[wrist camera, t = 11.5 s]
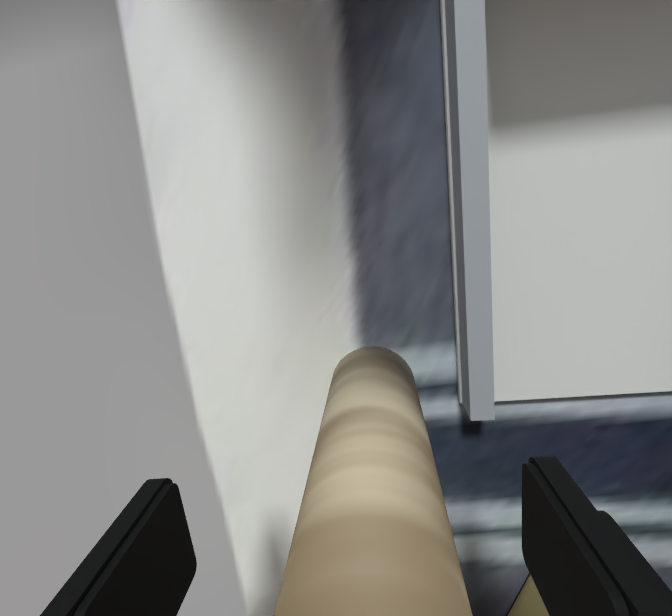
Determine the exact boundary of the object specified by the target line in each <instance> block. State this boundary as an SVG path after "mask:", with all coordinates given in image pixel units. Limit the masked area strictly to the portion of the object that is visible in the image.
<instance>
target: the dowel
mask: <svg viewBox="0 0 672 616" xmlns="http://www.w3.org/2000/svg"><path fill="white" fill-rule="evenodd" d="M274 616H472V612H471V608H470V604H469V600H468V596H467V592H466V588H465V584H464V580H463V576H462V571H461V567H460V563H459V559H458V555H457V551H456V547H455V543H454V539H453V535H452V531H451V527H450V523H449V519H448V515H447V510H446V506H445V502H444V498H443V494H442V490H441V486H440V482H439V478H438V474H437V470H436V466H435V462H434V458H433V454H432V449H431V445H430V441H429V437H428V433H427V429H426V425H425V421H424V417H423V413H422V409H421V405H420V401H419V397H418V393H417V388H416V384H415V380H414V377H413V373H412V371H411V369H410V367H409V365H408V364H407V363H406V361H405V360H404V359H403V358H402V357H401V356H399V355H398V354H396V353H395V352H393V351H391V350H388V349H386V348H381V347H363V348H360V349H357V350H354V351H352V352H350V353H349V354H347V355H346V356H345V357H344V358H343V359H342V360H341V361H340V362H339V363H338V365H337V367H336V368H335V371H334V373H333V377H332V381H331V385H330V389H329V393H328V397H327V401H326V405H325V410H324V414H323V418H322V422H321V426H320V430H319V434H318V438H317V442H316V446H315V450H314V454H313V458H312V462H311V466H310V470H309V475H308V479H307V483H306V487H305V491H304V495H303V499H302V503H301V507H300V511H299V515H298V519H297V523H296V527H295V531H294V535H293V539H292V544H291V548H290V552H289V556H288V560H287V564H286V568H285V572H284V576H283V580H282V584H281V588H280V592H279V596H278V600H277V604H276V608H275V613H274Z"/></svg>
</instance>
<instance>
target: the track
mask: <svg viewBox="0 0 672 616" xmlns="http://www.w3.org/2000/svg"><path fill="white" fill-rule="evenodd" d="M440 12H441V34H442V56H443V77H444V99H445V120H446V142H447V164H448V185H449V207H450V228H451V250H452V272H453V293H454V315H455V336H456V358H457V380H458V400H459V402H460V404H463V406H464V408H465V410H466V412H467V414H468V416H469V419H470V421H481V420H495V407H494V402H495V401H512V400H529V399H546V398H563V397H580V396H597V395H614V394H631V393H648V392H665V391H672V0H440Z"/></svg>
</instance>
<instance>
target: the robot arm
mask: <svg viewBox="0 0 672 616" xmlns="http://www.w3.org/2000/svg"><path fill="white" fill-rule="evenodd" d="M522 552H523V557H524V560H525V563H526V566H527V568H528V570H529V572H530V574H531V577H532V579H533V581H534V583H535V585H536V588H537V590H538V592H539V594H540V596H541V598H542V601H543V603H544V605H545V607H546V609H547V612H548V614H549V616H672V592H671V590H670V589H669V588H668V587H667V585H666V584H665V583H664V582H663V580H662V579H661V578H660V577H659V575H658V574H657V573H656V572H655V571H654V569H653V568H652V567H651V566H650V564H649V563H648V562H647V561H646V559H645V558H644V557H643V556H642V554H641V553H640V552H639V551H638V549H637V548H636V547H635V546H634V544H633V543H632V542H631V541H630V539H629V538H628V537H627V536H626V534H625V533H624V532H623V531H622V529H621V528H620V527H619V526H618V524H617V523H616V522H615V521H614V519H613V518H612V517H611V516H610V515H609V514H608V513H606V512H604V511H597V510H596V509H595V507H594V506H593V505H592V503H591V502H590V501H589V500H588V498H587V497H586V496H585V494H584V493H583V492H582V490H581V489H580V488H579V487H578V485H577V484H576V483H575V481H574V480H573V479H572V478H571V476H570V475H569V474H568V472H567V471H566V470H565V468H564V467H563V466H562V465H561V463H560V462H559V461H558V459H557V458H556V457H555V456H540V457H530V458H529V462H528V463H524V464H523V465H522ZM195 572H196V557H195V553H194V549H193V545H192V541H191V537H190V533H189V529H188V524H187V520H186V516H185V512H184V508H183V504H182V500H181V496H180V492H179V488H178V486H177V484H175V483H173V482H172V480H171V479H169V478H163V479H149V480H147V481H146V482H145V483H144V484H143V485H142V487H141V488H140V489H139V490H138V492H137V493H136V494H135V496H134V497H133V498H132V499H131V501H130V502H129V503H128V504H127V506H126V507H125V508H124V509H123V511H122V512H121V513H120V515H119V516H118V517H117V519H116V520H115V521H114V522H113V523H112V525H111V526H110V527H109V529H108V530H107V531H106V532H105V534H104V535H103V536H102V537H101V539H100V540H99V541H98V543H97V544H96V545H95V546H94V548H93V549H92V550H91V552H90V553H89V554H88V555H87V557H86V558H85V559H84V560H83V562H82V563H81V564H80V566H79V567H78V568H77V569H76V571H75V572H74V573H73V574H72V576H71V577H70V578H69V579H68V581H67V582H66V583H65V584H64V586H63V587H62V588H61V590H60V591H59V592H58V593H57V595H56V596H55V597H54V599H53V600H52V601H51V602H50V604H49V605H48V606H47V607H46V609H45V610H44V611H43V613H42V614H41V615H40V616H176V615H177V613H178V611H179V609H180V606H181V604H182V602H183V600H184V598H185V595H186V593H187V591H188V589H189V587H190V584H191V582H192V580H193V577H194V575H195Z"/></svg>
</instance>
